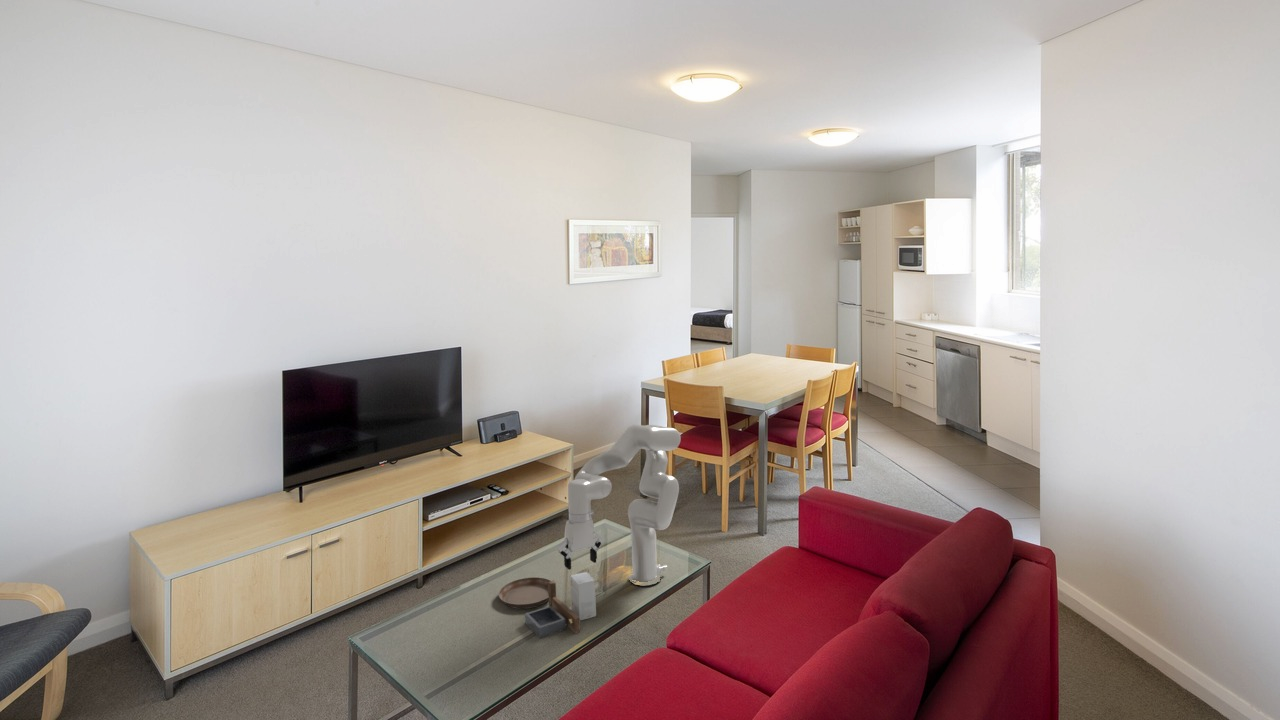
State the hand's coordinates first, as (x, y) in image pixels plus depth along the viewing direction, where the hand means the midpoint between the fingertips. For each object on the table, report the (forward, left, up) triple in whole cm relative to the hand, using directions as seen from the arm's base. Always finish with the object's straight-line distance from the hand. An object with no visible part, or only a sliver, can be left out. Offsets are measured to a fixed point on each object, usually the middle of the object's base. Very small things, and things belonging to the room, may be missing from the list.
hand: (580, 564), depth 219 cm
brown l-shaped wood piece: (+7, 0, -18) cm, 19 cm away
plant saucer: (+11, -23, -18) cm, 31 cm away
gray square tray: (+14, 0, -18) cm, 23 cm away
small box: (0, 0, -18) cm, 18 cm away
